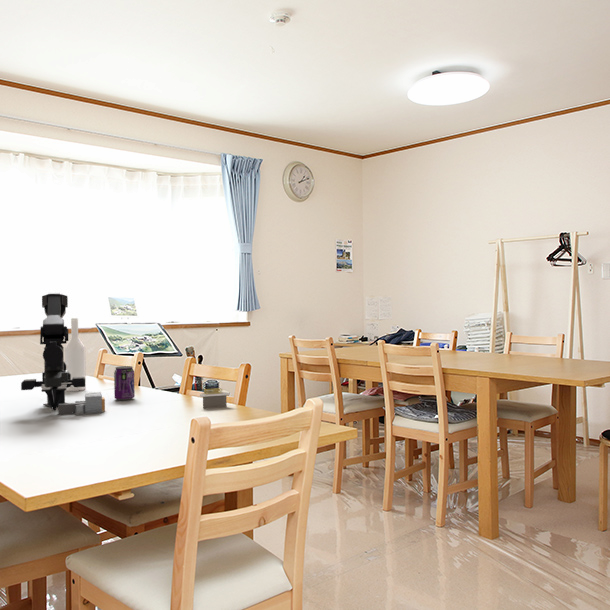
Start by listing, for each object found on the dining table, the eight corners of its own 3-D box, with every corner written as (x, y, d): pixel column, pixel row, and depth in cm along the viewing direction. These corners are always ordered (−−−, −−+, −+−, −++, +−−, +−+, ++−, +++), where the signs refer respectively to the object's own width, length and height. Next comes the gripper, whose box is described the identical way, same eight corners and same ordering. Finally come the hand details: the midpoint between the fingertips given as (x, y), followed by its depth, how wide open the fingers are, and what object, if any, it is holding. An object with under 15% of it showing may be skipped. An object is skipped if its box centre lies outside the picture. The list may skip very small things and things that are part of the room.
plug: (58, 414, 185) (58, 402, 185) (58, 412, 188) (58, 400, 188) (104, 411, 190) (104, 398, 190) (104, 409, 194) (104, 397, 194)
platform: (184, 407, 197) (184, 388, 197) (236, 403, 204) (235, 385, 204) (190, 413, 186) (190, 393, 186) (245, 409, 192) (244, 389, 192)
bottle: (63, 391, 239) (62, 318, 239) (67, 388, 246) (66, 318, 247) (84, 390, 240) (83, 318, 240) (87, 388, 248) (86, 318, 248)
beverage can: (128, 401, 211) (128, 368, 211) (110, 400, 212) (110, 368, 212) (138, 398, 218) (137, 366, 218) (120, 397, 219) (120, 366, 219)
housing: (75, 415, 184) (74, 397, 184) (75, 410, 193) (75, 393, 193) (102, 413, 187) (101, 395, 187) (101, 408, 196) (100, 391, 196)
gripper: (19, 365, 176) (19, 416, 175) (85, 362, 182) (85, 412, 182) (22, 362, 186) (23, 410, 186) (85, 359, 193) (85, 406, 192)
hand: (54, 410), depth 186 cm, fingers closed
